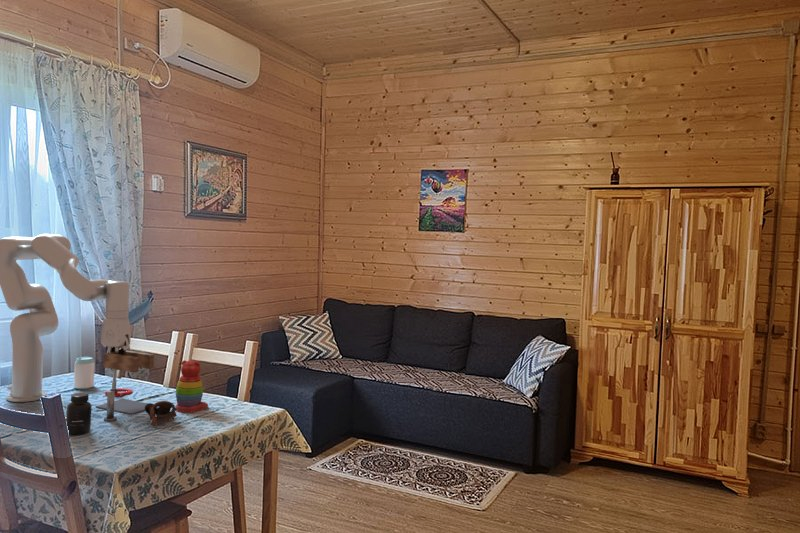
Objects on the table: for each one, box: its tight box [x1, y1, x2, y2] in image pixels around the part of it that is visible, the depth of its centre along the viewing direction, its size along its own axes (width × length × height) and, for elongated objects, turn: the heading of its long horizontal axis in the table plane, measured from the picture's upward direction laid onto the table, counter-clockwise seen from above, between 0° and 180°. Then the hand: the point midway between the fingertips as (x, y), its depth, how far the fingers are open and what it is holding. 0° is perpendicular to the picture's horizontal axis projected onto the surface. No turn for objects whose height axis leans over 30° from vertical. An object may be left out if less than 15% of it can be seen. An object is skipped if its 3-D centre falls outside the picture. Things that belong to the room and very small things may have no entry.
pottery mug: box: [144, 400, 178, 428], centre depth 197 cm, size 12×10×8 cm
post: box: [103, 390, 117, 422], centre depth 197 cm, size 4×4×10 cm
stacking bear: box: [175, 360, 209, 413], centre depth 214 cm, size 11×10×18 cm
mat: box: [95, 398, 148, 416], centre depth 213 cm, size 17×12×1 cm
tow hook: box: [104, 369, 133, 397], centre depth 231 cm, size 8×13×9 cm
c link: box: [102, 350, 155, 373], centre depth 212 cm, size 14×9×5 cm, turn 68°
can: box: [73, 356, 95, 390], centre depth 236 cm, size 7×7×12 cm
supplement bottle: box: [65, 392, 92, 436], centre depth 184 cm, size 7×7×12 cm
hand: (115, 364), depth 214 cm, fingers closed on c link
